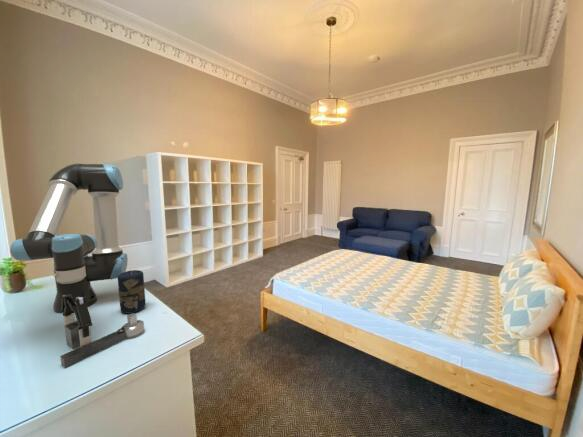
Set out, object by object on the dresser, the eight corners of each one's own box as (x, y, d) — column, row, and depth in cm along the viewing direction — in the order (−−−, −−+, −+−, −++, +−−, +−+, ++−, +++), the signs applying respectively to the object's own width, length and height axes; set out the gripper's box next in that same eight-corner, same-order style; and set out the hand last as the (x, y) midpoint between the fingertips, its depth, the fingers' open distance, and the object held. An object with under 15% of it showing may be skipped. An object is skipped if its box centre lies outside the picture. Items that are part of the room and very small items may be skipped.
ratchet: (59, 361, 77) (56, 340, 76) (138, 325, 97) (136, 308, 96) (67, 370, 73) (64, 348, 72) (147, 331, 93) (146, 313, 92)
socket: (67, 344, 85) (64, 324, 84) (85, 336, 90) (83, 318, 89) (72, 349, 83) (70, 329, 82) (91, 341, 87) (89, 322, 86)
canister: (118, 317, 103) (115, 276, 101) (122, 307, 111) (118, 269, 109) (145, 311, 107) (142, 272, 105) (146, 302, 116) (143, 265, 113)
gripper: (44, 276, 86) (52, 332, 89) (70, 292, 73) (78, 357, 76) (72, 270, 93) (78, 323, 95) (100, 283, 80) (106, 344, 82)
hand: (78, 338), depth 86 cm, fingers open, 13 cm apart
